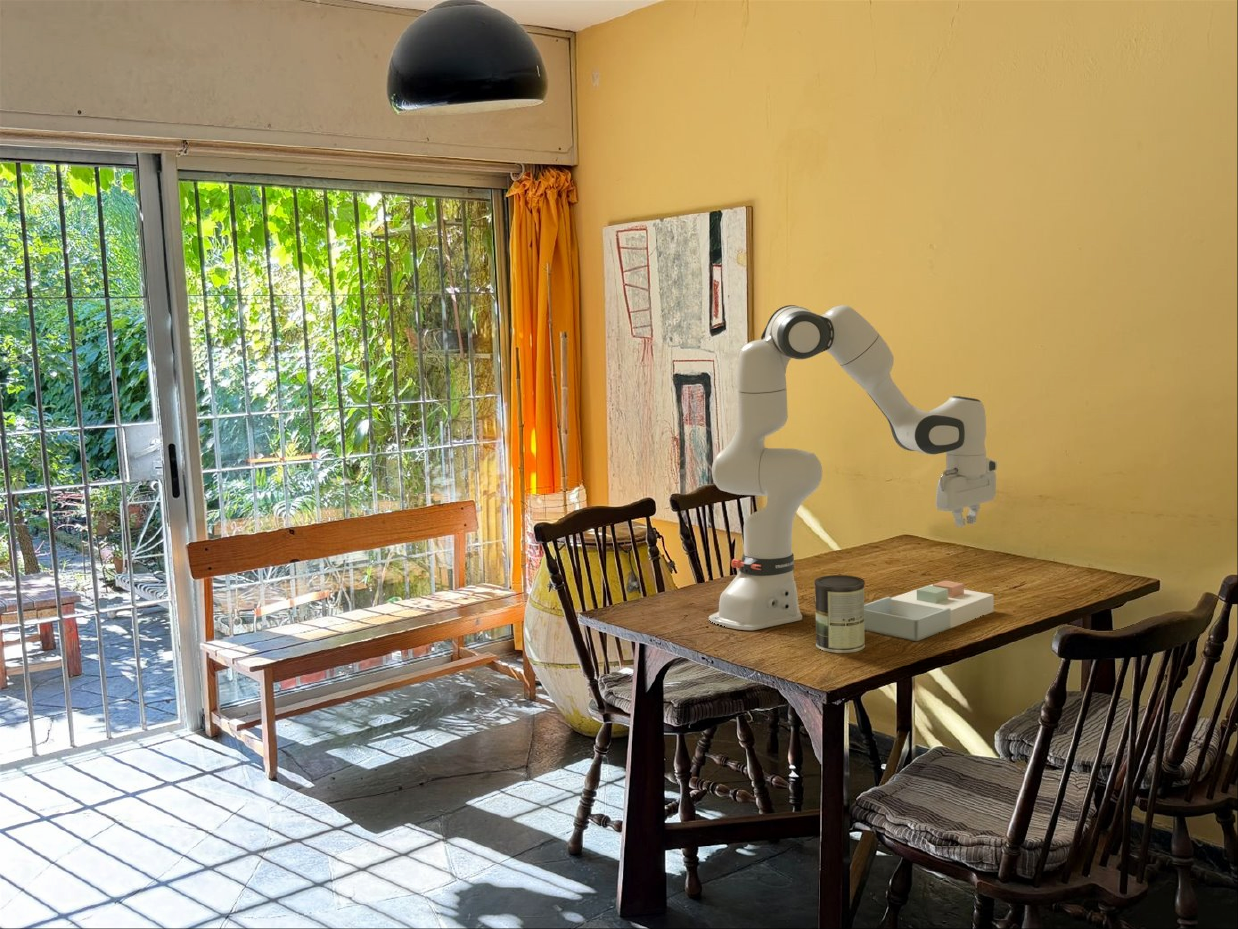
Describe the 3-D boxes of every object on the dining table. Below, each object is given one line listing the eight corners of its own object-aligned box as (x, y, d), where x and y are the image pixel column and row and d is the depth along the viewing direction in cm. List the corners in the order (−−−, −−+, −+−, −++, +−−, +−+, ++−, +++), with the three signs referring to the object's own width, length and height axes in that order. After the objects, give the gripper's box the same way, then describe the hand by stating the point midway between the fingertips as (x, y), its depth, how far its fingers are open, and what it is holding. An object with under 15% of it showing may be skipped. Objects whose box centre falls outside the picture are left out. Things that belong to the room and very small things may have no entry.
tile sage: (936, 603, 253) (936, 593, 253) (916, 600, 257) (916, 589, 257) (948, 599, 257) (948, 589, 256) (929, 595, 260) (929, 585, 260)
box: (916, 641, 239) (916, 620, 239) (854, 627, 251) (854, 608, 250) (950, 628, 248) (950, 608, 247) (888, 615, 260) (888, 596, 259)
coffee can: (806, 648, 237) (805, 582, 235) (830, 636, 245) (829, 572, 243) (850, 656, 231) (849, 588, 229) (874, 643, 239) (873, 578, 237)
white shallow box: (950, 628, 248) (950, 610, 247) (888, 615, 260) (888, 598, 259) (993, 611, 260) (993, 594, 259) (932, 600, 272) (932, 584, 271)
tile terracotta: (951, 598, 258) (951, 587, 257) (932, 594, 261) (932, 584, 261) (963, 593, 261) (963, 583, 261) (944, 590, 265) (944, 580, 264)
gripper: (953, 472, 253) (953, 533, 255) (1001, 462, 267) (1000, 519, 268) (928, 470, 258) (929, 530, 260) (976, 460, 271) (976, 517, 273)
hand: (965, 524), depth 264 cm, fingers open, 3 cm apart
